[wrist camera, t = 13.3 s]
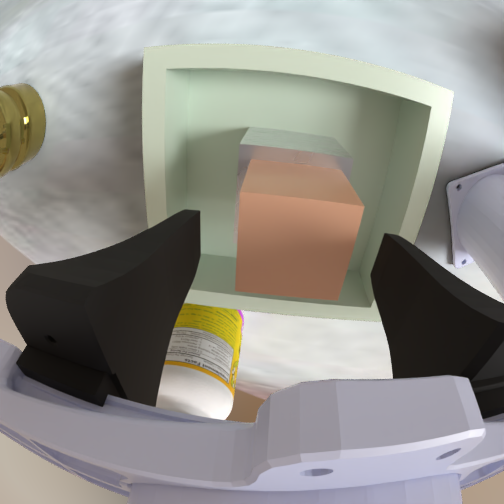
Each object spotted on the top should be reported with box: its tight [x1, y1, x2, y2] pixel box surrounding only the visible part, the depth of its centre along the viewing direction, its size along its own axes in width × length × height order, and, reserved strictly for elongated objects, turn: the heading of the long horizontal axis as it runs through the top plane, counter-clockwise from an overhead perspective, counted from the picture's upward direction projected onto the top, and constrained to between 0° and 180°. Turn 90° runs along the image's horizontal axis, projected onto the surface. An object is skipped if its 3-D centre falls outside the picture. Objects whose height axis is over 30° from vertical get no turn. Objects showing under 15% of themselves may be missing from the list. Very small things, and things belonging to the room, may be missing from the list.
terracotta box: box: [235, 159, 364, 301], centre depth 12 cm, size 4×4×4 cm
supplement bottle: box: [156, 302, 244, 420], centre depth 20 cm, size 7×7×13 cm
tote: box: [142, 44, 454, 322], centre depth 17 cm, size 15×15×5 cm
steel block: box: [233, 127, 354, 244], centre depth 16 cm, size 5×5×5 cm
